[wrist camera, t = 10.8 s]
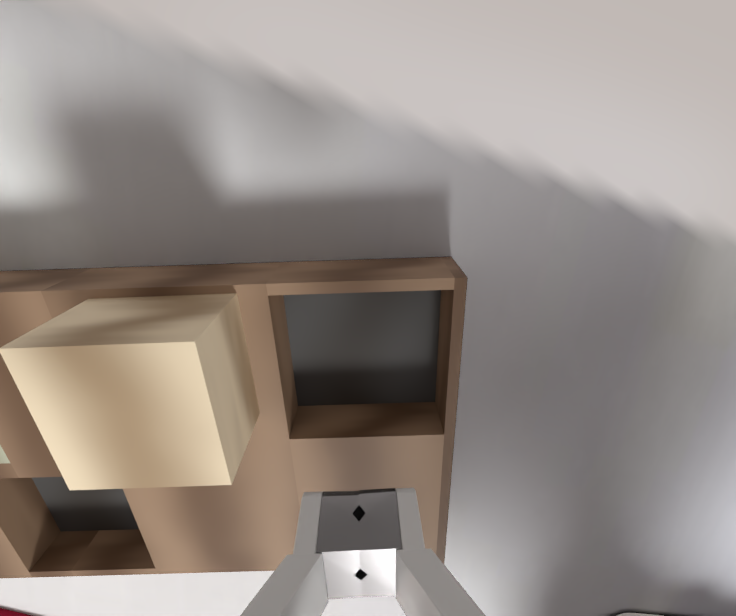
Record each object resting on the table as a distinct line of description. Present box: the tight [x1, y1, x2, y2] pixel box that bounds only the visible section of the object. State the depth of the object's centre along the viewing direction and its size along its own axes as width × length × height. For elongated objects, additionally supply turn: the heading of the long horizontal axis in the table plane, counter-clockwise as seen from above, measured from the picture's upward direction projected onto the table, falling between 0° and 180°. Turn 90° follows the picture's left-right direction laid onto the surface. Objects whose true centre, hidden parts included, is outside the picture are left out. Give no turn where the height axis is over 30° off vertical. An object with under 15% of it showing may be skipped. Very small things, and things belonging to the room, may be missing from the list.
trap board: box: [0, 257, 467, 578], centre depth 20 cm, size 30×18×3 cm, turn 92°
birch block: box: [0, 293, 260, 490], centre depth 14 cm, size 6×6×4 cm
